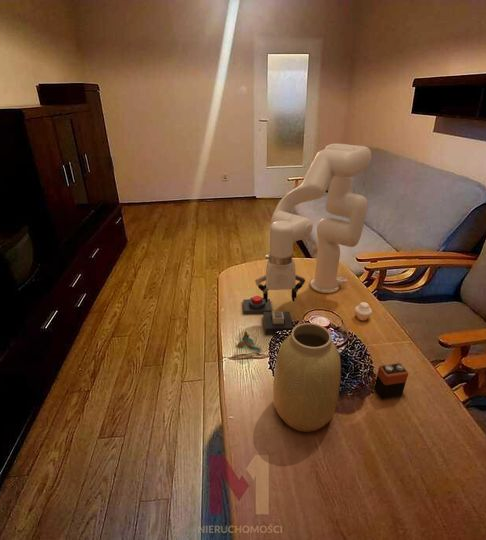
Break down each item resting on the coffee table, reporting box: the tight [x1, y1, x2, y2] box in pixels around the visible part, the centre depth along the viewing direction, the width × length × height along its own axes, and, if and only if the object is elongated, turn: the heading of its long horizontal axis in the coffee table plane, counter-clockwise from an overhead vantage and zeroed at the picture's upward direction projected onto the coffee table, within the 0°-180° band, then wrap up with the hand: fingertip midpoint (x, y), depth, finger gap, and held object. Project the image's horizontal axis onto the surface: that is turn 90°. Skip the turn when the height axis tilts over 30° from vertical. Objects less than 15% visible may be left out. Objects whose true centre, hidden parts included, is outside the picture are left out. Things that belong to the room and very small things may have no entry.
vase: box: [272, 322, 342, 433], centre depth 90 cm, size 17×17×27 cm
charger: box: [272, 310, 284, 324], centre depth 129 cm, size 4×4×6 cm
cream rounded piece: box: [354, 301, 373, 321], centre depth 132 cm, size 6×6×7 cm
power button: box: [252, 295, 263, 304], centre depth 139 cm, size 4×4×2 cm
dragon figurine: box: [236, 330, 260, 355], centre depth 120 cm, size 6×7×8 cm
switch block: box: [242, 296, 273, 315], centre depth 140 cm, size 11×8×4 cm
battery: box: [373, 362, 409, 399], centre depth 100 cm, size 4×7×10 cm, turn 100°
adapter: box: [262, 311, 294, 336], centre depth 129 cm, size 10×10×3 cm
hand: (279, 299), depth 125 cm, fingers open, 9 cm apart
